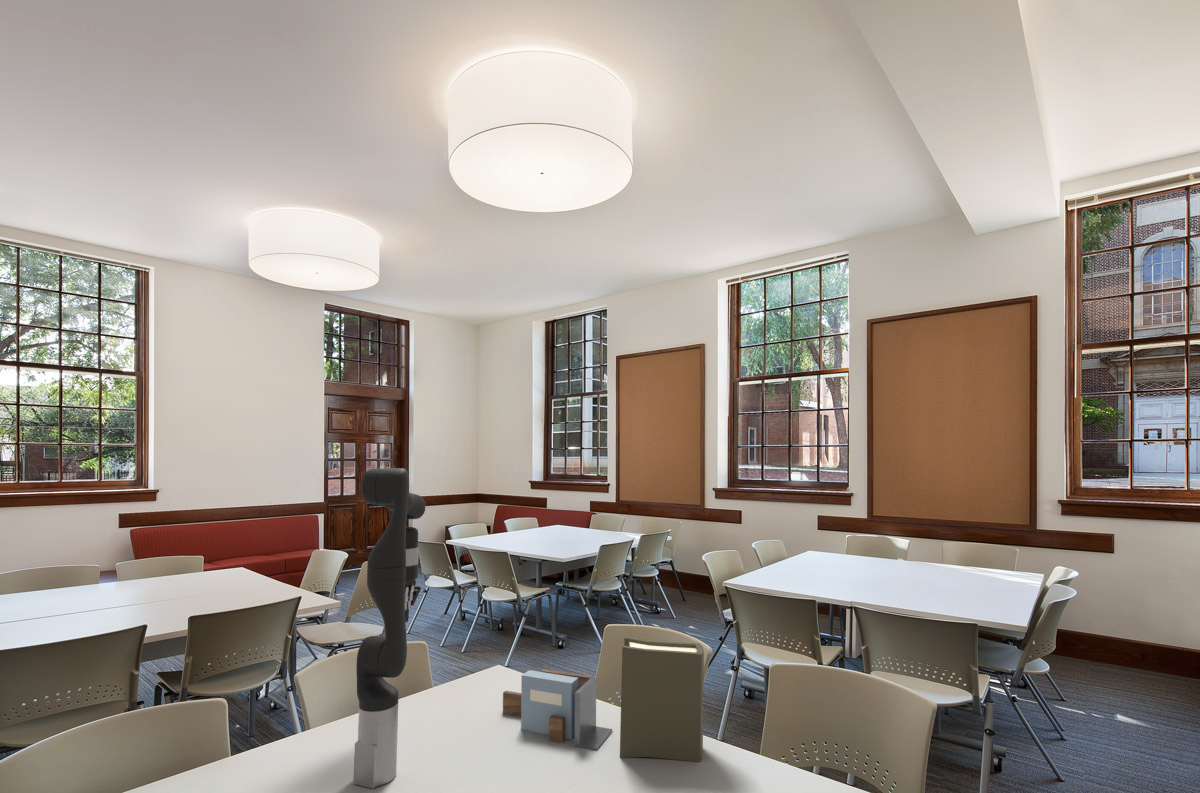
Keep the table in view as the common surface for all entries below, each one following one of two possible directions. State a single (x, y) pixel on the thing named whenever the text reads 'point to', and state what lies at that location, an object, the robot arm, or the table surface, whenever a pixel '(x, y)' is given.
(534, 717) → the boxed book
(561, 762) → the table surface
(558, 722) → the rail
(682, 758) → the book
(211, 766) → the table surface
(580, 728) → the bookend
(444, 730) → the table surface
